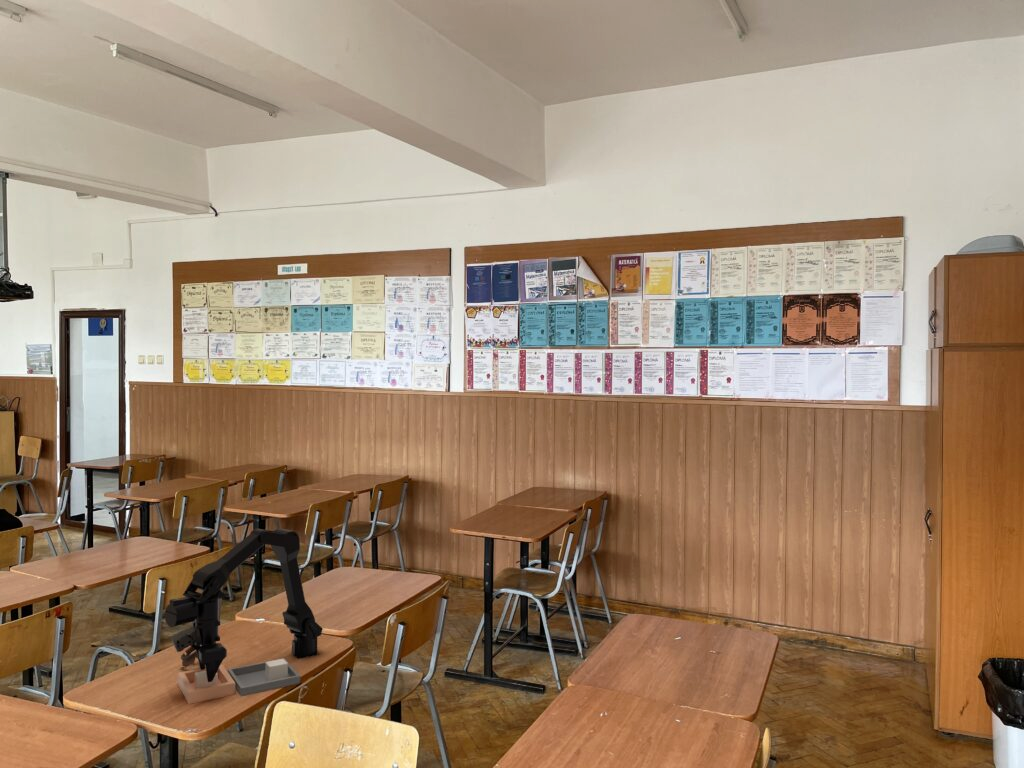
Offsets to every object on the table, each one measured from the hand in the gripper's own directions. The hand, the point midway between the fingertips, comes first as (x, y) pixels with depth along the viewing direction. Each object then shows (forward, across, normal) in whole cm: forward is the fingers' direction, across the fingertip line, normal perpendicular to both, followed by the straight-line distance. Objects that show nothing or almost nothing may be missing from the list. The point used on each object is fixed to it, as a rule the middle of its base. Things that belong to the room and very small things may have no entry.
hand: (206, 675), depth 201 cm
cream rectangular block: (+4, 0, 0) cm, 4 cm away
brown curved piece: (+4, -18, +3) cm, 19 cm away
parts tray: (+4, +2, +14) cm, 15 cm away
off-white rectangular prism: (+4, +2, +18) cm, 18 cm away
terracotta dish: (+4, 0, 0) cm, 4 cm away
